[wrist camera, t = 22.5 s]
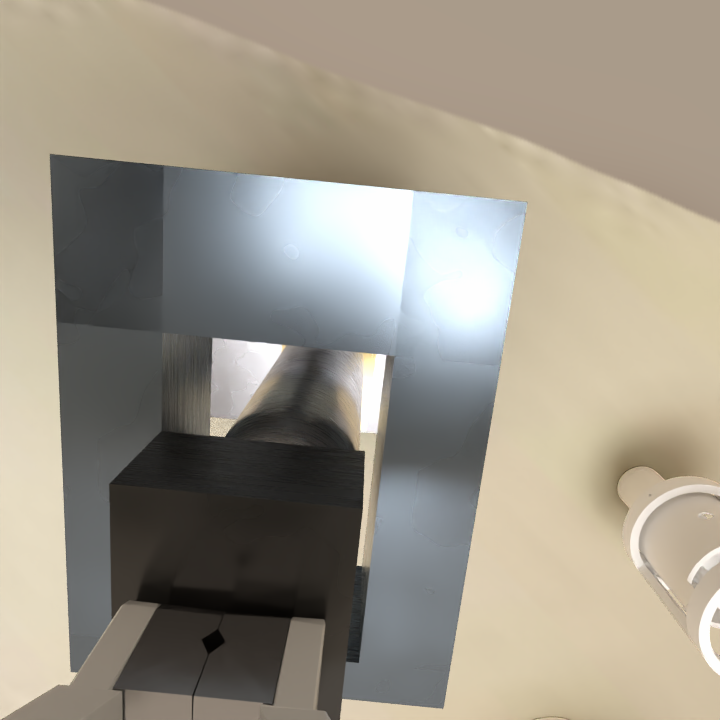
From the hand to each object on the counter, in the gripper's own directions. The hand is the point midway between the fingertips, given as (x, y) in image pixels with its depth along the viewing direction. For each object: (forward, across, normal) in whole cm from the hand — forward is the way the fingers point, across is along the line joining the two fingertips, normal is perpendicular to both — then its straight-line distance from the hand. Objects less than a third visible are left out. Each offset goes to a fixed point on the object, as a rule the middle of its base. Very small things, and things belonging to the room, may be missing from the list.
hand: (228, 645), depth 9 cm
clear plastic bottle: (+29, -22, +10) cm, 38 cm away
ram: (+16, 0, 0) cm, 16 cm away
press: (+29, 0, 0) cm, 29 cm away
